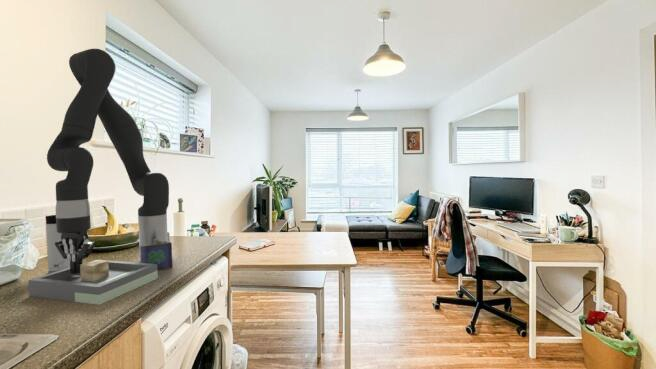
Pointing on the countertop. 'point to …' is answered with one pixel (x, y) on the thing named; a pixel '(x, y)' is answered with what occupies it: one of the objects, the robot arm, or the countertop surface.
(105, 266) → the maple cube
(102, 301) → the tray
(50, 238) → the travel mug
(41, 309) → the countertop surface
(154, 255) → the flask
